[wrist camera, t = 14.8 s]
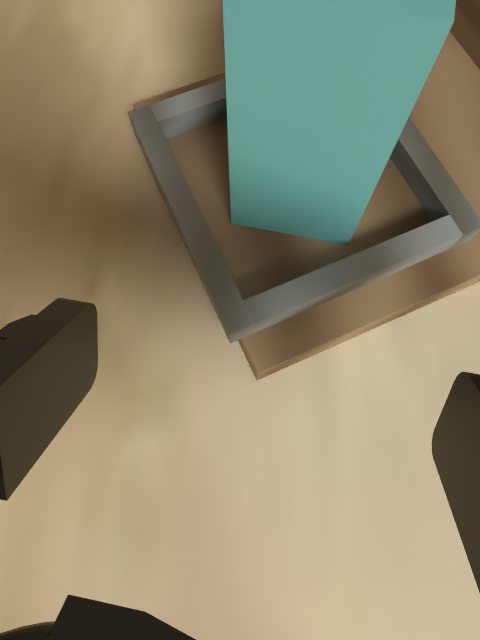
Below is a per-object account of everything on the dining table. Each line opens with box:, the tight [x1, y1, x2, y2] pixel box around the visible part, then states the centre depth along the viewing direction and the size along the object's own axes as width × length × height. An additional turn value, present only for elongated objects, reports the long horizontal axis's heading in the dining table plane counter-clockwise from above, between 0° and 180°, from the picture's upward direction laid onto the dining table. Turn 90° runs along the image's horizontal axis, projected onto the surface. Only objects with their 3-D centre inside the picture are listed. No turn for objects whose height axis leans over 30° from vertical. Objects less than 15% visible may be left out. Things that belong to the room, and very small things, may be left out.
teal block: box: [223, 0, 456, 245], centre depth 15 cm, size 5×5×10 cm
